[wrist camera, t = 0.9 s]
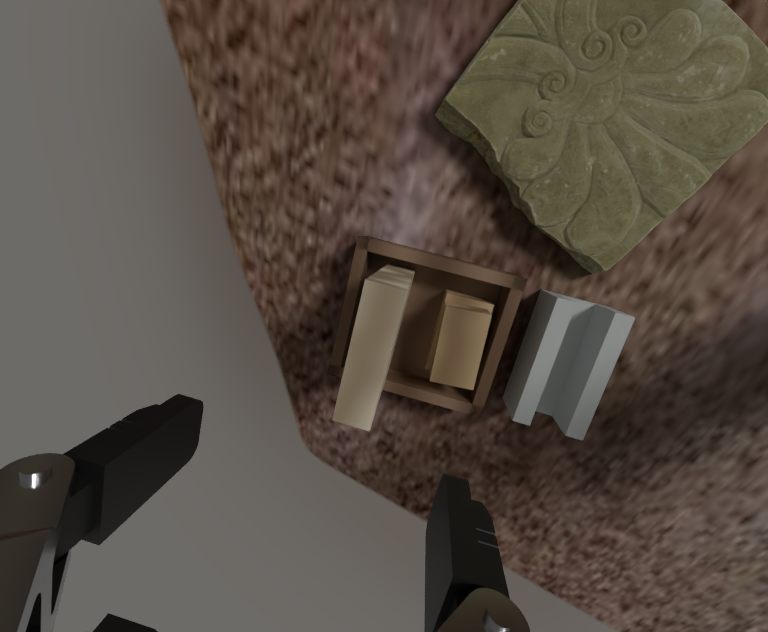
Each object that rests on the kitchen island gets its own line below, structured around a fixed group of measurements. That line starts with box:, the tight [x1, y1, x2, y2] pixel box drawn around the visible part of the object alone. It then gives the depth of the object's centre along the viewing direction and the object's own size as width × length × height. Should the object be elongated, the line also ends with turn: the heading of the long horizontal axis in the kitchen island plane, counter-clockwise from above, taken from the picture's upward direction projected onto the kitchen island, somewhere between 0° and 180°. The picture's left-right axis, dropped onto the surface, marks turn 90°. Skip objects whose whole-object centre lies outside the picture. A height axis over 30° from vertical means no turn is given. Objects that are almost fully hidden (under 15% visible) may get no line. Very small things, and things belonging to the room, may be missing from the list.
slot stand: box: [503, 289, 635, 441], centre depth 32 cm, size 6×11×4 cm, turn 166°
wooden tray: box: [328, 236, 527, 417], centre depth 33 cm, size 14×12×4 cm
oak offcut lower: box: [425, 289, 494, 370], centre depth 32 cm, size 4×7×2 cm, turn 166°
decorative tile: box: [435, 0, 768, 274], centre depth 28 cm, size 19×20×4 cm
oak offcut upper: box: [430, 301, 492, 390], centre depth 30 cm, size 4×6×2 cm, turn 170°
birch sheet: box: [332, 263, 416, 431], centre depth 28 cm, size 2×9×13 cm, turn 166°
